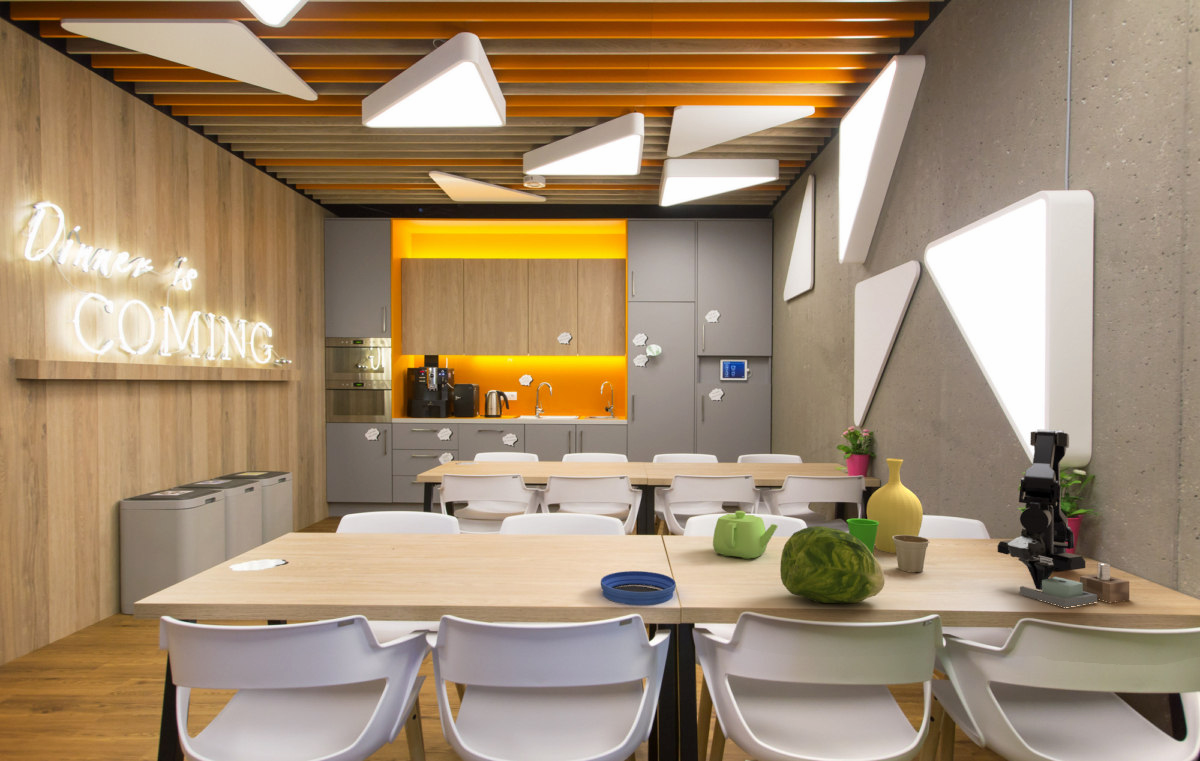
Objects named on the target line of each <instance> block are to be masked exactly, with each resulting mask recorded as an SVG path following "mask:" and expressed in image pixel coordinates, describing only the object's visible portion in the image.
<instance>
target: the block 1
mask: <svg viewBox="0 0 1200 761" xmlns="http://www.w3.org/2000/svg"><path fill="white" fill-rule="evenodd" d="M1041 592H1044V593H1048V594H1051V595H1055V596H1058V597H1061V598H1068V597H1075V596H1081V595H1083V583H1081V582H1080V581H1076V580H1072V579H1067V578H1063V577H1058V576H1054V577H1049V578H1048V579H1044V580H1042V590H1041Z"/></svg>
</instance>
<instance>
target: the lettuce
mask: <svg viewBox="0 0 1200 761" xmlns="http://www.w3.org/2000/svg"><path fill="white" fill-rule="evenodd" d="M781 553H782V554H781V558H780V568H779V569H780V579H781V582H782V585H783V586H784V587H785V588H786V590H787V591H788V592H789V593H790V594H792V595H796V596H801V597H802V598H804V599H808V600H810V601H813V602H818V603H825V604H826V603H827V604H829V603H831V604H833V603H834V604H855V603H859V602H863V601H864V600H867V599H868V598H872V597H875V596H877V595H878V594H879V593H880V592H881V591H882V590H883V588H884V587H885V583H886V582H885V578H886V577H885V574H884V570H883V568H882V567H881V564H880V563H879V561H878V560H877V558H876V557H875V556H874V554H873V555H872V554H871V552H870V551H869V549H868V548H867V546H866V545H865V544H864V543H862V542H861V541H860V540H859V539H857V538H856V537H854V536H853V535H851V534H849V532H847V531H844V530H842V529H838V528H833V527H828V526H827V527H826V526H821V525H815V526H809V527H805V528H802V529H799V530H798V531H795V532H794V533H792V535H790V537H788V539H787V541H786V542H785V544H784V546H783V549H782V551H781Z"/></svg>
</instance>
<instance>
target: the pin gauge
mask: <svg viewBox="0 0 1200 761" xmlns="http://www.w3.org/2000/svg"><path fill="white" fill-rule="evenodd" d="M1097 574H1098V579H1099V580H1103V581H1110V577H1111V565H1110V564H1109V563H1106V562H1105V563H1104V562H1097Z"/></svg>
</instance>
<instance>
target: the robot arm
mask: <svg viewBox="0 0 1200 761" xmlns="http://www.w3.org/2000/svg"><path fill="white" fill-rule="evenodd" d="M1069 435H1070V434H1068V433H1066V432H1064V429H1063V430H1061V429H1060V430H1058V429H1037V430H1034V431H1030V439H1029V440H1030V443H1029V445H1030V446H1031V447H1034V449H1033V451H1034V453H1033V458H1032V463H1031V466H1030V467H1028V468H1027V469H1025V472H1024V475H1023V477H1021V479H1020V486H1019V497H1018V503H1019V504H1020V503H1021V504H1025V509H1024V510H1023V511H1022V512H1021V513H1020V516H1019V521H1020V522H1019V523H1020V524H1021V526H1022V527H1023V528H1022V529H1021V532H1020V536H1018V537H1016V538H1013V539H1010V540H1000V541H999V543H998V544H997V546H996V547H997V550H996V552H997V553H1000V554H1004V555H1006V556H1007V555H1010V557H1012V558H1018V561H1019V562H1022V563H1023V564H1024V565H1025V566H1026V567H1027V570H1028V572H1029V574H1030V575H1031V579H1032V582H1033V584H1034V586H1035V590H1038V591H1042V580H1044V579H1048V578H1051V575H1052V574H1053V572H1054V571H1055V572H1056V571H1057V572H1059V571H1075V570H1076V571H1077V570H1081V569H1086V560H1085V558H1084V557H1083V555H1079V554H1075V553H1071V552H1070V553H1069V552H1067V549H1068V550H1071V549H1075V536H1074V532H1073V531H1072V529H1071V526H1069V522H1068V521H1069V520H1068V517H1067V516H1066V515H1065V514H1064V512H1063V511H1062V510H1061V509H1062V508H1061V507H1062V503H1061V497H1062V496H1061V495H1062V485H1061V464H1060V462H1062V460H1063V458H1064V457H1065V456H1066V453H1067V449H1069V448H1070V447H1069V446H1070V436H1069Z"/></svg>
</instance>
